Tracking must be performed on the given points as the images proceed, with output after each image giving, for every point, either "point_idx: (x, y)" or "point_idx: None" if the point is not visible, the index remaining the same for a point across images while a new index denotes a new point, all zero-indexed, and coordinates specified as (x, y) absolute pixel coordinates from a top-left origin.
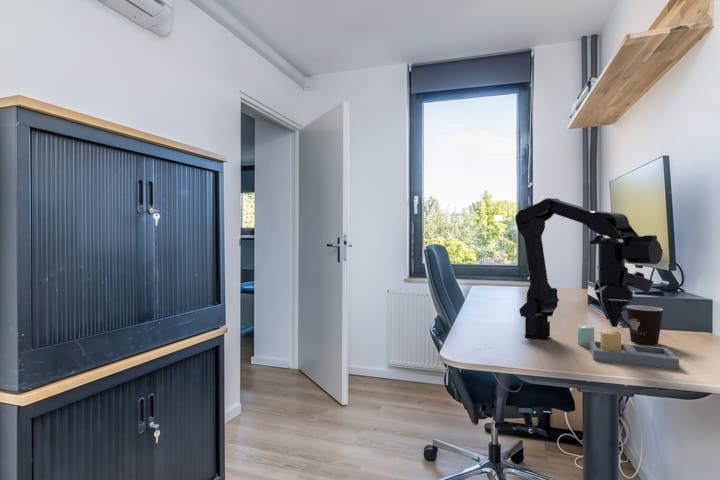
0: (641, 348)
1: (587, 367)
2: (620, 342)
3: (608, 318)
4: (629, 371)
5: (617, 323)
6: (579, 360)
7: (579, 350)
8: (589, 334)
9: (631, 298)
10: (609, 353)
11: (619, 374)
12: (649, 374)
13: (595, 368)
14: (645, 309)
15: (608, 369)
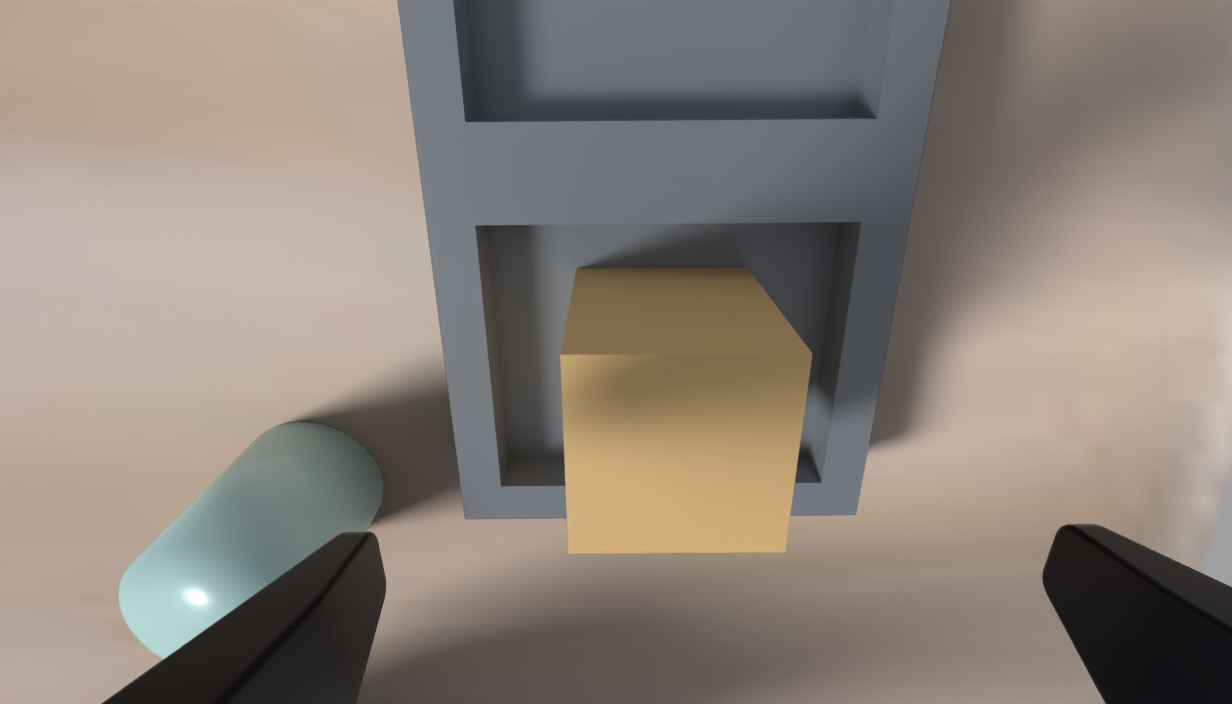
0: (460, 8)
1: (1043, 510)
2: (784, 319)
3: (378, 582)
4: (1098, 237)
5: (1166, 564)
6: (870, 546)
7: (561, 534)
8: (325, 540)
9: None
10: (873, 390)
11: (1192, 324)
12: (1167, 77)
13: (1059, 465)
14: None
15: (1069, 385)
